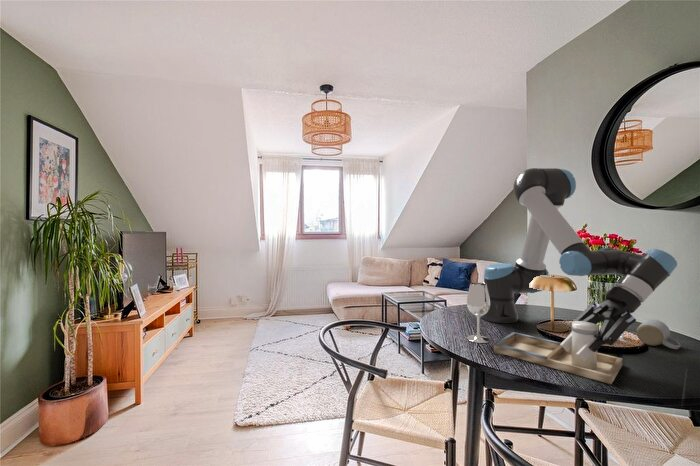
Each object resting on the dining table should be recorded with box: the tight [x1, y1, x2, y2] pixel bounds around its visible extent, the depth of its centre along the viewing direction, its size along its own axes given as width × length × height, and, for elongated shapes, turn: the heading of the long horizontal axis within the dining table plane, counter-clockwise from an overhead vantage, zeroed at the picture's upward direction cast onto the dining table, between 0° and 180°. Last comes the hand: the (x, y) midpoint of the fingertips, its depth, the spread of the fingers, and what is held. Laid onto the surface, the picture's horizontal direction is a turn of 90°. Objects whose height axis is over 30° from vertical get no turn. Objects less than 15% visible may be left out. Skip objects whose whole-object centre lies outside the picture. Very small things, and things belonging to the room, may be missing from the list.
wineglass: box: [466, 282, 491, 344], centre depth 118 cm, size 8×8×20 cm
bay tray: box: [493, 331, 623, 385], centre depth 101 cm, size 30×16×3 cm, turn 43°
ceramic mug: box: [636, 318, 681, 350], centre depth 112 cm, size 11×8×8 cm
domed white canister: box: [571, 320, 599, 370], centre depth 95 cm, size 6×6×12 cm
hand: (571, 352), depth 95 cm, fingers closed on domed white canister, 6 cm apart
